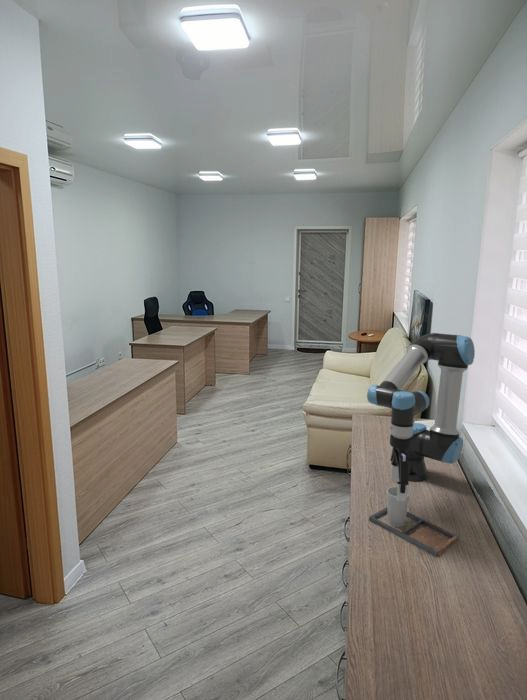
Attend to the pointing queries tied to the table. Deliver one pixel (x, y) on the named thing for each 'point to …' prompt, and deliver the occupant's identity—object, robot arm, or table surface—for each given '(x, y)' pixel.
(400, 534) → the two-slot metal tray
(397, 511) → the cup
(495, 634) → the table surface
